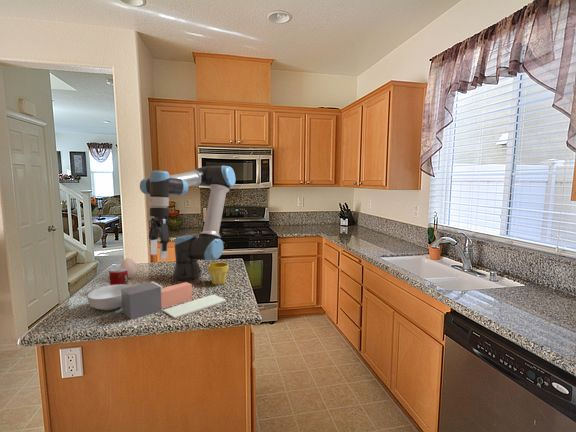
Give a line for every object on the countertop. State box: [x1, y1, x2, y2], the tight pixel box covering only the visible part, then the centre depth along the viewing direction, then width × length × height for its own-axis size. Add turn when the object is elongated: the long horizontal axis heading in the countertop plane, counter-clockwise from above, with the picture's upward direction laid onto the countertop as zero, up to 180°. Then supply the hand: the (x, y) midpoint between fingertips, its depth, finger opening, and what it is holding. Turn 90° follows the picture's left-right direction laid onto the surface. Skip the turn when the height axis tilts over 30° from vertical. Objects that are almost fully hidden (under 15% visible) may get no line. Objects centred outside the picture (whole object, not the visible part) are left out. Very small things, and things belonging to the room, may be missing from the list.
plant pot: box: [207, 261, 229, 286], centre depth 162 cm, size 10×10×10 cm
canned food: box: [108, 266, 129, 286], centre depth 150 cm, size 8×8×11 cm
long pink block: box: [161, 281, 193, 309], centre depth 134 cm, size 20×5×7 cm, turn 136°
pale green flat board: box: [162, 294, 227, 319], centre depth 132 cm, size 24×10×1 cm, turn 136°
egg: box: [119, 257, 137, 280], centre depth 169 cm, size 8×8×11 cm
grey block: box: [121, 281, 164, 320], centre depth 127 cm, size 13×10×10 cm
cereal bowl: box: [86, 284, 133, 311], centre depth 132 cm, size 17×17×7 cm
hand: (158, 256), depth 133 cm, fingers open, 13 cm apart
